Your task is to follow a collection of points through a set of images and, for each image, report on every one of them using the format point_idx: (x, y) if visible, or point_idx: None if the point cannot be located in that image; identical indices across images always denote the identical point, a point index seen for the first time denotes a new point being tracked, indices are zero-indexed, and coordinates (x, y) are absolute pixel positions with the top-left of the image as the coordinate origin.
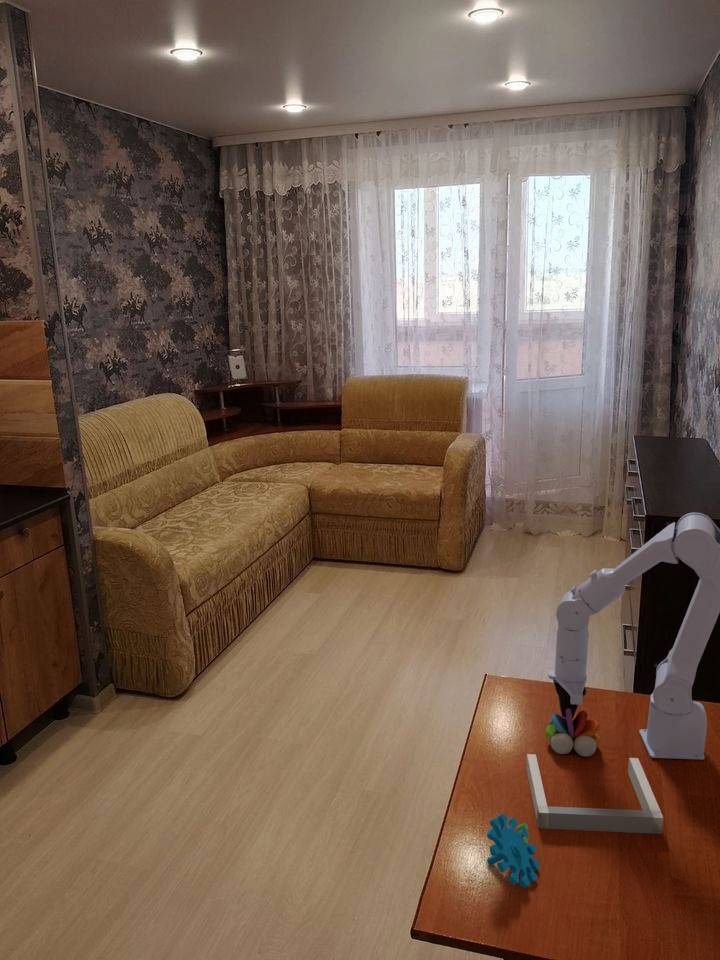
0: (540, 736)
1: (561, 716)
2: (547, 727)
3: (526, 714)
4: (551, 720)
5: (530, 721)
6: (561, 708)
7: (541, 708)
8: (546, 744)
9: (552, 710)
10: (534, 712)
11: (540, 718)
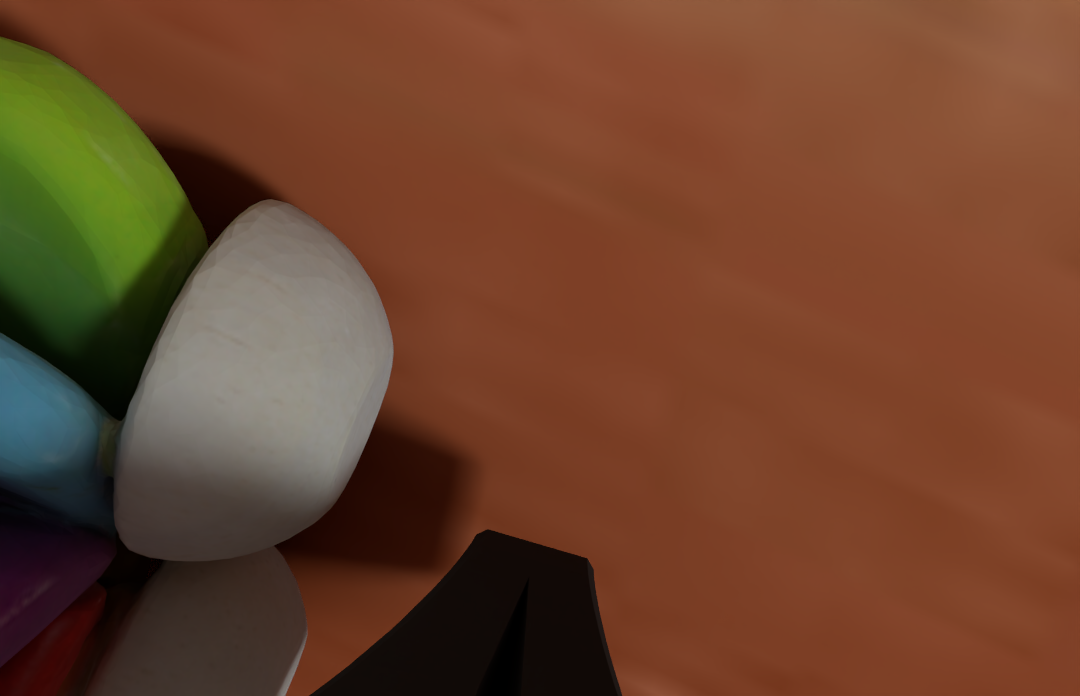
0: (276, 18)
1: (162, 499)
2: (7, 110)
3: (946, 22)
4: (189, 280)
5: (713, 12)
6: (409, 618)
7: (1023, 361)
8: (74, 32)
9: (904, 495)
10: (954, 196)
11: (752, 225)
